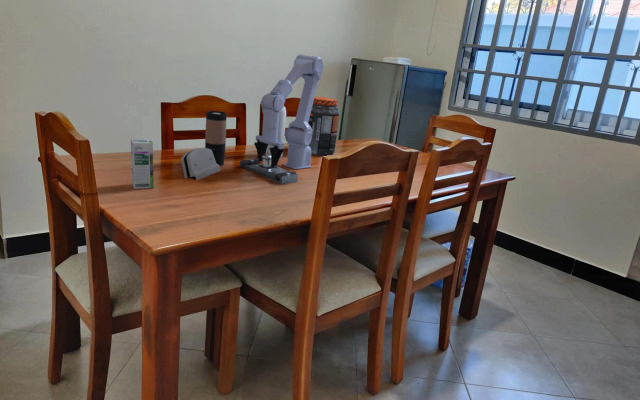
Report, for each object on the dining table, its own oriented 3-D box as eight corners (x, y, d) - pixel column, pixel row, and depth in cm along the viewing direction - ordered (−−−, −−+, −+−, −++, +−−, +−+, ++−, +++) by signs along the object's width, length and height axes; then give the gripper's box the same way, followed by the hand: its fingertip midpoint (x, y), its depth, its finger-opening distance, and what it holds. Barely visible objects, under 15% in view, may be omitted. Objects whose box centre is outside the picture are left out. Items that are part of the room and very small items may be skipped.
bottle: (286, 156, 196) (292, 88, 186) (275, 158, 189) (281, 88, 180) (272, 152, 199) (277, 85, 190) (261, 154, 193) (266, 85, 183)
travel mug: (200, 163, 168) (201, 111, 162) (212, 160, 175) (214, 110, 169) (217, 167, 166) (219, 114, 159) (228, 164, 172) (230, 113, 166)
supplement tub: (305, 147, 219) (310, 94, 211) (336, 151, 218) (342, 99, 209) (299, 153, 204) (305, 97, 196) (332, 158, 203) (339, 101, 194)
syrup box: (133, 189, 133) (132, 142, 128) (131, 183, 137) (130, 138, 133) (153, 188, 135) (153, 142, 131) (151, 183, 140) (150, 138, 135)
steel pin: (267, 171, 168) (268, 154, 166) (273, 174, 165) (274, 156, 163) (258, 172, 165) (259, 154, 163) (264, 175, 163) (265, 157, 160)
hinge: (197, 180, 148) (188, 151, 146) (185, 182, 150) (177, 154, 147) (221, 170, 163) (214, 143, 161) (210, 172, 165) (203, 146, 163)
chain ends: (255, 164, 177) (255, 156, 176) (297, 181, 160) (298, 172, 159) (238, 166, 171) (238, 157, 170) (280, 184, 154) (281, 175, 153)
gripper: (249, 124, 162) (247, 159, 166) (274, 131, 152) (271, 169, 157) (265, 123, 167) (262, 158, 171) (289, 131, 157) (286, 167, 162)
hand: (267, 163), depth 164 cm, fingers open, 7 cm apart
